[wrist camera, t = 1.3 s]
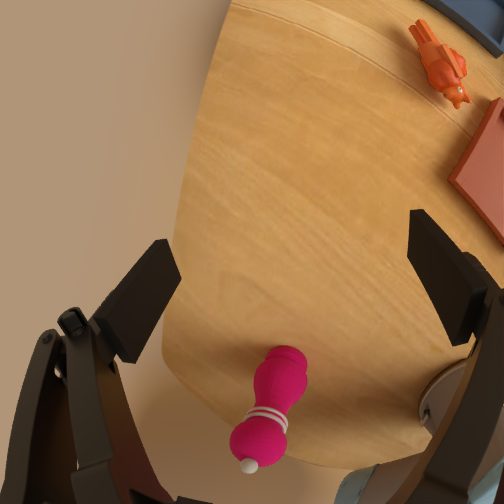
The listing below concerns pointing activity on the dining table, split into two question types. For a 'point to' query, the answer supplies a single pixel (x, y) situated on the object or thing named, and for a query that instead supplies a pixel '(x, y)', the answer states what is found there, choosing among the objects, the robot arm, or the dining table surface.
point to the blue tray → (477, 20)
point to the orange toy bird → (441, 64)
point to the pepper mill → (270, 409)
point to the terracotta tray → (485, 170)
